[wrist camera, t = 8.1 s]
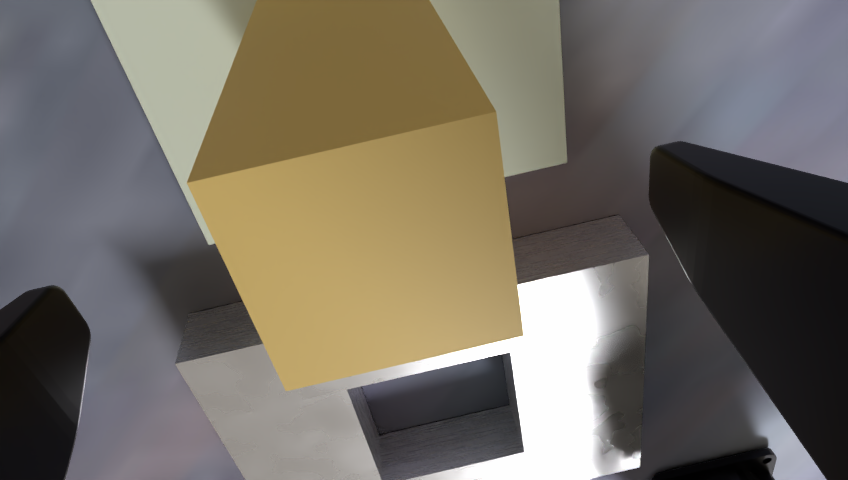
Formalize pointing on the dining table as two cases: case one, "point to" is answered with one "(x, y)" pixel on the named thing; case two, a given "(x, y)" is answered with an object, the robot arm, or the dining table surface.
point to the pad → (224, 28)
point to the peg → (358, 190)
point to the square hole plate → (522, 359)
